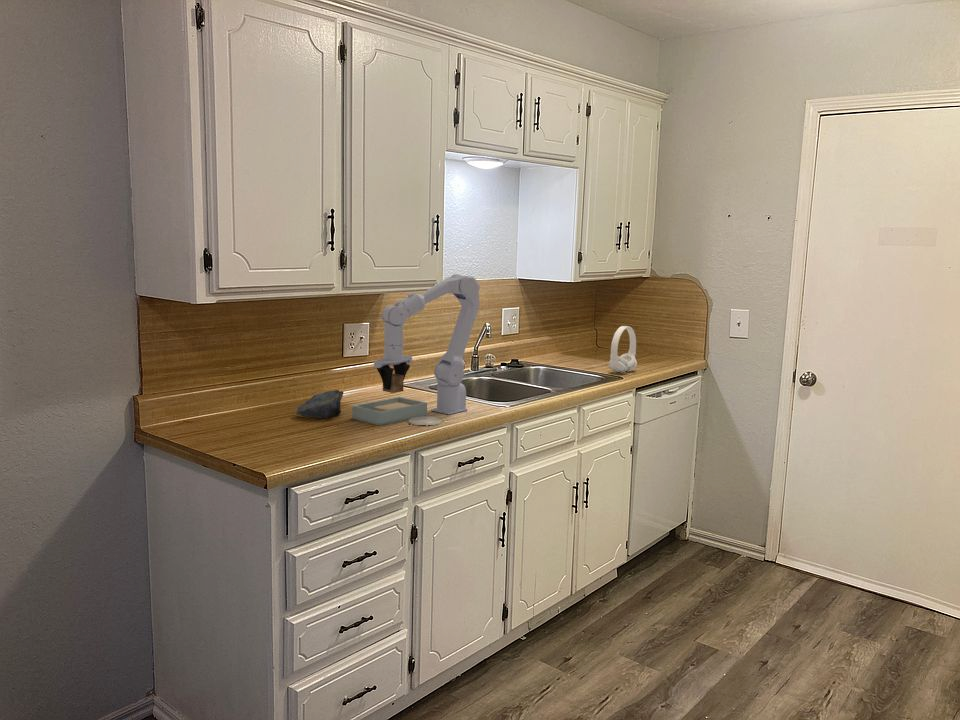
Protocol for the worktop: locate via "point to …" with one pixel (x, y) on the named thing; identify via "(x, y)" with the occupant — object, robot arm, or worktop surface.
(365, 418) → the caddy
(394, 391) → the block
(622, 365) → the headphones
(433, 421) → the coaster
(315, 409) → the rock
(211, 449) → the worktop surface
